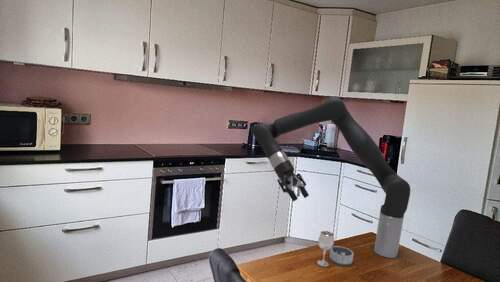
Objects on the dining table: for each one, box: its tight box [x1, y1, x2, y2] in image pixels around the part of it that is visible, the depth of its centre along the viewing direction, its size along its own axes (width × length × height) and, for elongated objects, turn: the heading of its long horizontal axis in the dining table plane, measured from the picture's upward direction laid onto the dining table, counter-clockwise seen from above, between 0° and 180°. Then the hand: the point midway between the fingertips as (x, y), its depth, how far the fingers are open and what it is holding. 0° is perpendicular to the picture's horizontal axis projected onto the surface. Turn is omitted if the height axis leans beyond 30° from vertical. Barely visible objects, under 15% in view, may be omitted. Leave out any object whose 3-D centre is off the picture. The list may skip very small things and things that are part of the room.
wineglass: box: [316, 230, 335, 267], centre depth 128 cm, size 6×6×12 cm
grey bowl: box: [329, 245, 355, 267], centre depth 132 cm, size 9×9×4 cm
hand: (301, 198), depth 135 cm, fingers open, 8 cm apart
